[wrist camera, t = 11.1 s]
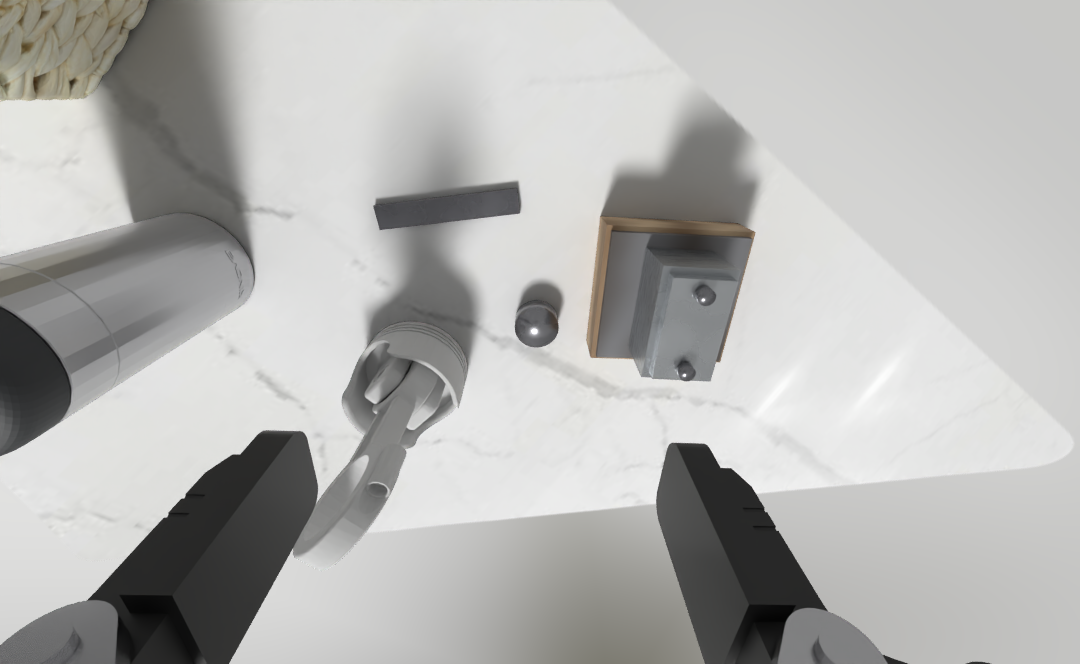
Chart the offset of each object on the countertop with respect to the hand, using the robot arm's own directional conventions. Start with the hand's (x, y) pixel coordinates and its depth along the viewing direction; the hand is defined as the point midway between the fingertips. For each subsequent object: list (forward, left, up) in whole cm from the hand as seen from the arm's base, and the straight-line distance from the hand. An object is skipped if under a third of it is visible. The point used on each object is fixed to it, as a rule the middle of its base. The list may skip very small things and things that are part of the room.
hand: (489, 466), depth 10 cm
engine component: (-10, -16, -30) cm, 36 cm away
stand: (+13, -6, -30) cm, 33 cm away
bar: (-6, 0, -31) cm, 31 cm away
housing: (+13, -6, -26) cm, 30 cm away
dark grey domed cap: (+2, -10, -30) cm, 32 cm away
